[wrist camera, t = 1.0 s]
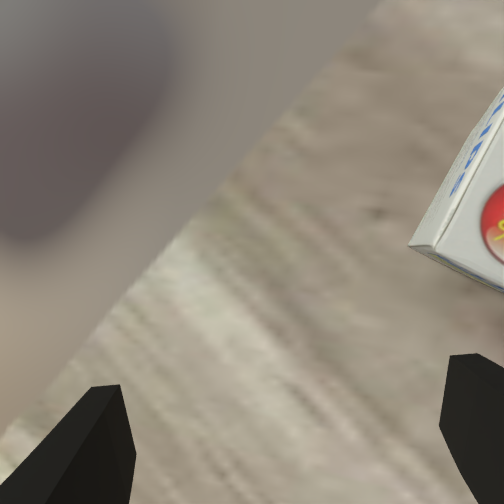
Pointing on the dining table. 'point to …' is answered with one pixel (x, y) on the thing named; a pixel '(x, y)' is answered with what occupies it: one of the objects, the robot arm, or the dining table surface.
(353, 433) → the dining table surface
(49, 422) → the dining table surface
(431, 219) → the light bulb box
